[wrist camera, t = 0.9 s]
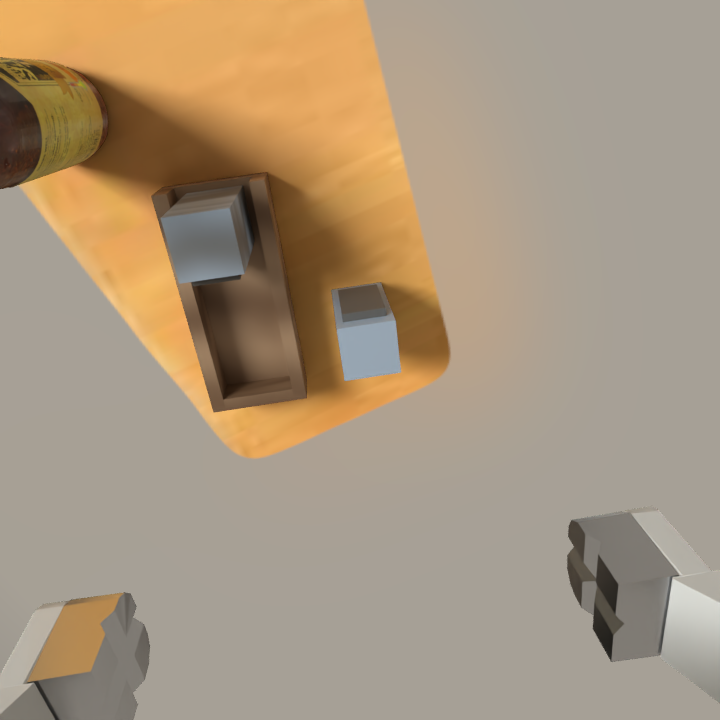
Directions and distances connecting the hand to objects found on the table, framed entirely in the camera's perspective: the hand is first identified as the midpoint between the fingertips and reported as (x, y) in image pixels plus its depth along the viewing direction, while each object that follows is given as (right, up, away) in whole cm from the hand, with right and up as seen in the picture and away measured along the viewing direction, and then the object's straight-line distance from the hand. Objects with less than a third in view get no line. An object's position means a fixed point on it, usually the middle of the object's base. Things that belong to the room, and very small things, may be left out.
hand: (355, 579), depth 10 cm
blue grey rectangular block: (0, +8, +35) cm, 36 cm away
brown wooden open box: (-9, +9, +33) cm, 36 cm away
